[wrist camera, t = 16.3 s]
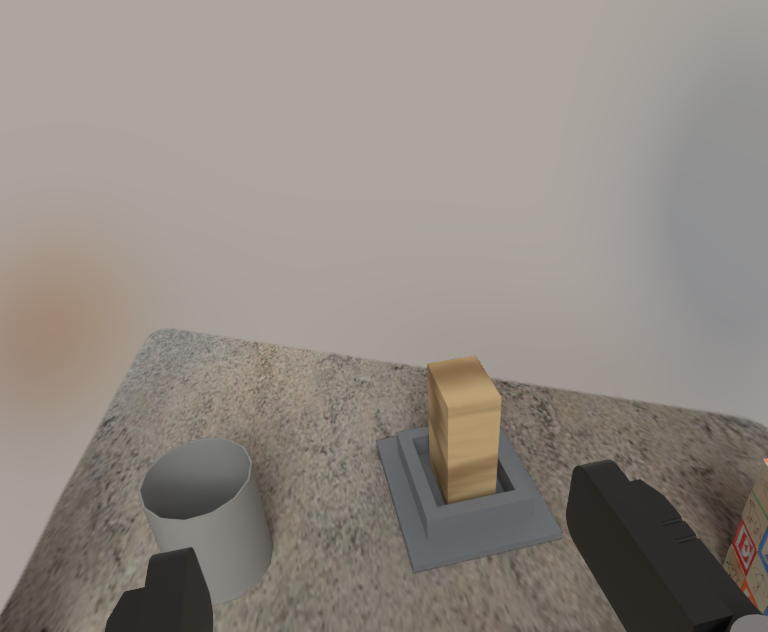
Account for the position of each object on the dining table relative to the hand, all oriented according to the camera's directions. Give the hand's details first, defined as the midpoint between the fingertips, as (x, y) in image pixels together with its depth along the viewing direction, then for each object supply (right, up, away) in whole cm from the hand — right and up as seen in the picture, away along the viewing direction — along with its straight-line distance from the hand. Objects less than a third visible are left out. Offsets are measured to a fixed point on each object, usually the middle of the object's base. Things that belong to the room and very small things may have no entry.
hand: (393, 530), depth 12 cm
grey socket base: (+7, -12, +42) cm, 44 cm away
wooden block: (+7, -11, +41) cm, 43 cm away
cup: (-14, -16, +37) cm, 43 cm away
